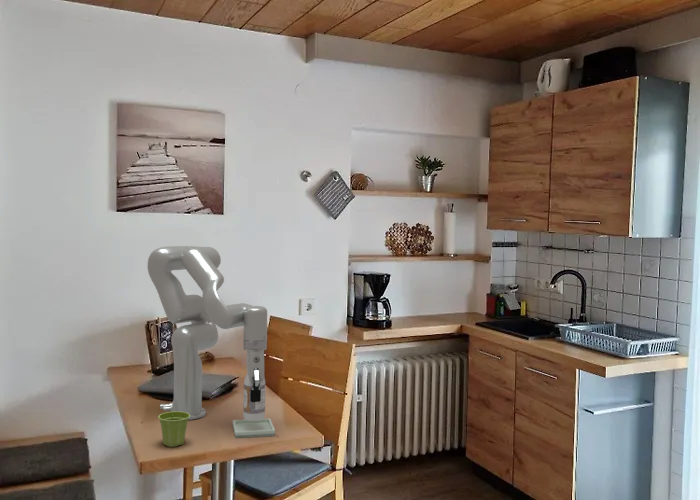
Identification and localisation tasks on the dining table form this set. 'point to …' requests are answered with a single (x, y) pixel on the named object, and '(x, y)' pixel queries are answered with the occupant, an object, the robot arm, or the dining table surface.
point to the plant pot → (173, 427)
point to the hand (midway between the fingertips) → (254, 397)
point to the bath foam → (253, 409)
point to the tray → (253, 428)
